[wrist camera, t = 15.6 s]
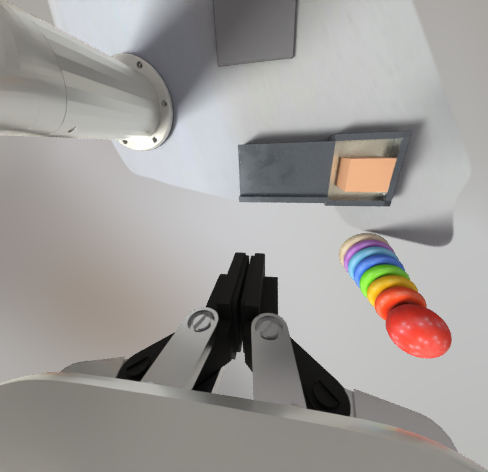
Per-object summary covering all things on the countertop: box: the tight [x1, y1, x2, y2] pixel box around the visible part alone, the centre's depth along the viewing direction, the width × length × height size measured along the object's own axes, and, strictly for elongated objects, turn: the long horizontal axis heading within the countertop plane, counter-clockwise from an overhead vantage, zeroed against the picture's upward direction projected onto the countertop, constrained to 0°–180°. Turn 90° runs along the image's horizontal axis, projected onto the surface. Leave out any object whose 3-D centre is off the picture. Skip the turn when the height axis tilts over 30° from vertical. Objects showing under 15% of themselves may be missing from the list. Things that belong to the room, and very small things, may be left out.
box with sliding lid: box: [238, 131, 412, 206], centre depth 28 cm, size 22×10×4 cm, turn 92°
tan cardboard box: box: [335, 156, 397, 192], centre depth 26 cm, size 5×4×5 cm
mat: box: [213, 0, 296, 66], centre depth 24 cm, size 10×8×1 cm
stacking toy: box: [339, 233, 452, 358], centre depth 26 cm, size 8×8×19 cm
